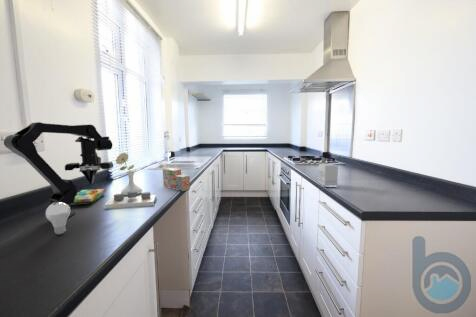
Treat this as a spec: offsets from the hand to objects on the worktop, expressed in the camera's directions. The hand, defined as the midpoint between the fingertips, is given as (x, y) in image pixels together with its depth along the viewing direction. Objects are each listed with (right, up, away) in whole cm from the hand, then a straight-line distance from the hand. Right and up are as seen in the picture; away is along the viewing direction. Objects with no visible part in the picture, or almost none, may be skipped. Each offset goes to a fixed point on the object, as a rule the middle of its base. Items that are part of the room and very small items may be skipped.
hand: (91, 183), depth 107 cm
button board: (+16, -11, +8) cm, 21 cm away
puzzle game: (-11, -11, +13) cm, 20 cm away
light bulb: (+6, -16, -27) cm, 31 cm away
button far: (+22, -9, +10) cm, 26 cm away
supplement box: (+131, -7, +43) cm, 138 cm away
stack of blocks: (+30, -8, +40) cm, 50 cm away
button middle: (+16, -8, +9) cm, 20 cm away
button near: (+9, -9, +7) cm, 15 cm away
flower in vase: (+7, -9, +24) cm, 27 cm away
